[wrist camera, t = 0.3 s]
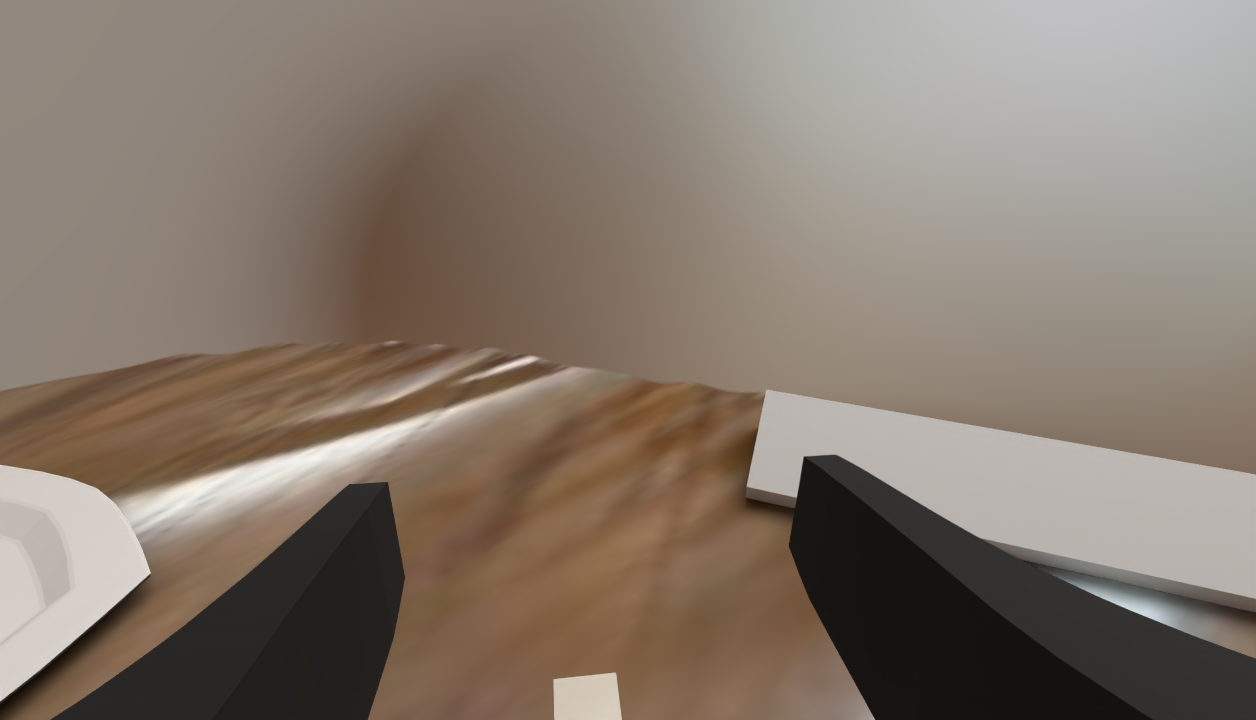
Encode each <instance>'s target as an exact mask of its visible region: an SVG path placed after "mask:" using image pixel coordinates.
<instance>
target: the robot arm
mask: <svg viewBox="0 0 1256 720" xmlns="http://www.w3.org/2000/svg"><path fill="white" fill-rule="evenodd" d="M789 548H790V550H791V553H792V556H793V558H794V561H795V564H796V566H797V569H798V572H799V575H800V577H801V579H802V582H803V584H804V587H805V589H806V592H807V594H808V597H809V599H810V601H811V603H812V605H813V606H814V608H815V610H816V612H817V614H818V616H819V618H820V620H821V621H822V623H823V625H824V627H825V629H826V631H827V633H828V634H829V636H830V638H831V640H832V642H833V644H834V645H835V647H836V649H837V651H838V653H839V655H840V656H841V658H842V660H843V662H844V664H845V666H846V667H847V669H848V671H849V673H850V675H851V676H852V678H853V680H854V682H855V684H856V686H857V687H858V689H859V691H860V693H861V695H862V696H863V698H864V700H865V702H866V704H867V706H868V707H869V709H870V711H871V713H872V715H873V717H874V718H875V720H1256V659H1255V658H1252V657H1250V656H1247V655H1244V654H1241V653H1238V652H1236V651H1233V650H1230V649H1227V648H1225V647H1222V646H1219V645H1217V644H1214V643H1211V642H1208V641H1206V640H1203V639H1200V638H1198V637H1195V636H1192V635H1190V634H1187V633H1185V632H1182V631H1180V630H1177V629H1175V628H1172V627H1170V626H1167V625H1165V624H1162V623H1160V622H1157V621H1155V620H1152V619H1150V618H1147V617H1145V616H1142V615H1140V614H1138V613H1135V612H1133V611H1130V610H1128V609H1125V608H1123V607H1121V606H1118V605H1116V604H1114V603H1111V602H1109V601H1107V600H1105V599H1102V598H1100V597H1098V596H1095V595H1093V594H1091V593H1089V592H1087V591H1085V590H1083V589H1080V588H1078V587H1076V586H1074V585H1072V584H1070V583H1068V582H1065V581H1063V580H1061V579H1059V578H1057V577H1055V576H1053V575H1050V574H1048V573H1046V572H1044V571H1042V570H1040V569H1038V568H1036V567H1034V566H1032V565H1030V564H1028V563H1026V562H1024V561H1022V560H1020V559H1018V558H1016V557H1014V556H1012V555H1011V554H1009V553H1007V552H1005V551H1003V550H1001V549H999V548H998V547H996V546H994V545H992V544H990V543H988V542H986V541H984V540H983V539H981V538H979V537H977V536H975V535H973V534H972V533H970V532H968V531H966V530H965V529H963V528H961V527H959V526H958V525H956V524H954V523H952V522H951V521H949V520H947V519H945V518H944V517H942V516H940V515H939V514H937V513H935V512H933V511H932V510H930V509H928V508H927V507H925V506H923V505H922V504H920V503H918V502H917V501H915V500H913V499H912V498H910V497H908V496H907V495H905V494H903V493H902V492H900V491H898V490H897V489H895V488H894V487H892V486H890V485H889V484H887V483H885V482H884V481H882V480H880V479H879V478H877V477H875V476H874V475H872V474H870V473H869V472H867V471H865V470H864V469H862V468H860V467H858V466H857V465H855V464H853V463H851V462H849V461H848V460H846V459H844V458H842V457H840V456H838V455H836V454H835V455H819V456H804V458H803V464H802V470H801V476H800V482H799V488H798V494H797V500H796V506H795V512H794V518H793V524H792V530H791V536H790V542H789ZM404 580H405V575H404V569H403V564H402V558H401V553H400V547H399V542H398V536H397V531H396V525H395V519H394V514H393V508H392V503H391V497H390V492H389V486H388V482H381V483H365V484H349V485H348V486H347V487H345V488H344V489H343V490H342V491H341V492H339V493H338V494H337V495H336V496H335V497H334V498H333V499H332V500H330V501H329V502H328V503H327V504H326V505H325V506H324V507H323V508H322V509H320V510H319V511H318V512H317V513H316V514H315V515H314V516H313V517H312V518H311V519H309V520H308V521H307V522H306V523H305V524H304V525H303V526H302V527H301V528H300V529H298V530H297V531H296V532H295V533H294V534H293V535H292V536H291V537H289V538H288V539H287V540H286V541H285V542H284V543H283V544H282V545H280V546H279V547H278V548H277V549H276V550H275V551H274V552H272V553H271V554H270V555H269V556H268V557H267V558H266V559H265V560H263V561H262V562H261V563H260V564H259V565H258V566H257V567H255V568H254V569H253V570H252V571H251V572H250V573H248V574H247V575H246V576H245V577H244V578H242V579H241V580H240V581H239V582H237V583H236V584H235V585H234V586H232V587H231V588H230V589H229V590H228V591H226V592H225V593H224V594H223V595H221V596H220V597H219V598H218V599H216V600H215V601H214V602H213V603H212V604H210V605H209V606H208V607H207V608H205V609H204V610H203V611H202V612H200V613H199V614H198V615H197V616H196V617H194V618H193V619H192V620H191V621H189V622H188V623H187V624H186V625H184V626H183V627H182V628H181V629H179V630H178V631H177V632H175V633H174V634H173V635H171V636H170V637H169V638H167V639H166V640H165V641H163V642H162V643H161V644H159V645H158V646H157V647H155V648H154V649H153V650H151V651H150V652H149V653H147V654H146V655H144V656H143V657H142V658H140V659H139V660H137V661H136V662H135V663H133V664H132V665H130V666H129V667H128V668H126V669H125V670H123V671H122V672H120V673H119V674H118V675H116V676H115V677H113V678H112V679H111V680H109V681H108V682H106V683H105V684H103V685H102V686H101V687H99V688H98V689H96V690H95V691H93V692H92V693H90V694H89V695H88V696H86V697H85V698H83V699H82V700H80V701H79V702H77V703H76V704H74V705H73V706H71V707H69V708H68V709H66V710H65V711H63V712H62V713H60V714H59V715H57V716H55V717H54V718H52V719H51V720H368V717H369V714H370V710H371V707H372V704H373V701H374V698H375V695H376V692H377V689H378V686H379V682H380V679H381V676H382V673H383V670H384V667H385V663H386V660H387V657H388V654H389V651H390V647H391V644H392V641H393V638H394V633H395V628H396V623H397V618H398V613H399V608H400V602H401V597H402V591H403V585H404Z"/></svg>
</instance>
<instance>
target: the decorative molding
mask: <svg viewBox="0 0 1256 720" xmlns="http://www.w3.org/2000/svg"><path fill="white" fill-rule="evenodd" d="M835 454H836V455H838V456H840V457H842V458H844V459H846V460H848V461H849V462H851V463H853V464H855V465H857V466H858V467H860V468H862V469H864V470H865V471H867V472H869V473H870V474H872V475H874V476H875V477H877V478H879V479H880V480H882V481H884V482H885V483H887V484H889V485H890V486H892V487H894V488H895V489H897V490H898V491H900V492H902V493H903V494H905V495H907V496H908V497H910V498H912V499H913V500H915V501H917V502H918V503H920V504H922V505H923V506H925V507H927V508H928V509H930V510H932V511H933V512H935V513H937V514H939V515H940V516H942V517H944V518H945V519H947V520H949V521H951V522H952V523H954V524H956V525H958V526H959V527H961V528H963V529H965V530H966V531H968V532H970V533H972V534H973V535H975V536H977V537H979V538H981V539H983V540H984V541H986V542H988V543H990V544H992V545H994V546H996V547H998V548H999V549H1001V550H1003V551H1005V552H1007V553H1009V554H1011V555H1012V556H1014V557H1016V558H1018V559H1020V560H1025V561H1029V562H1033V563H1038V564H1042V565H1047V566H1051V567H1056V568H1060V569H1064V570H1069V571H1073V572H1078V573H1082V574H1087V575H1091V576H1095V577H1100V578H1104V579H1109V580H1113V581H1118V582H1122V583H1127V584H1131V585H1135V586H1140V587H1144V588H1149V589H1153V590H1158V591H1162V592H1166V593H1171V594H1175V595H1180V596H1184V597H1189V598H1193V599H1198V600H1202V601H1206V602H1211V603H1215V604H1220V605H1224V606H1229V607H1233V608H1237V609H1242V610H1246V611H1251V612H1255V613H1256V475H1255V474H1249V473H1243V472H1238V471H1232V470H1227V469H1221V468H1215V467H1209V466H1203V465H1197V464H1192V463H1186V462H1180V461H1174V460H1169V459H1163V458H1157V457H1151V456H1145V455H1140V454H1134V453H1128V452H1122V451H1117V450H1111V449H1106V448H1099V447H1094V446H1088V445H1082V444H1076V443H1071V442H1065V441H1059V440H1054V439H1047V438H1042V437H1036V436H1031V435H1025V434H1019V433H1013V432H1008V431H1002V430H996V429H990V428H984V427H978V426H973V425H967V424H961V423H956V422H950V421H944V420H938V419H932V418H927V417H920V416H915V415H910V414H904V413H898V412H892V411H887V410H881V409H875V408H869V407H863V406H858V405H852V404H846V403H840V402H835V401H829V400H823V399H817V398H812V397H806V396H800V395H794V394H789V393H782V392H777V391H771V390H766V395H765V400H764V405H763V409H762V414H761V419H760V424H759V429H758V434H757V439H756V443H755V448H754V453H753V458H752V463H751V468H750V473H749V477H748V482H747V488H746V498H750V499H754V500H758V501H763V502H767V503H772V504H776V505H781V506H785V507H789V508H794V509H795V506H796V500H797V494H798V488H799V482H800V476H801V470H802V464H803V458H804V456H819V455H835Z"/></svg>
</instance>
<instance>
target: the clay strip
mask: <svg viewBox="0 0 1256 720" xmlns="http://www.w3.org/2000/svg"><path fill="white" fill-rule="evenodd" d="M554 720H622V719H621V710H620V702H619V694H618V686H617V678H616V673H608V674H599V675H589V676H580V677H571V678H561V679H554Z"/></svg>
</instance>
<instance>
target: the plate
mask: <svg viewBox="0 0 1256 720" xmlns="http://www.w3.org/2000/svg"><path fill="white" fill-rule="evenodd" d="M150 574H151V573H150V570H149V567H148V564H147V561H146V558H145V556H144V553H143V550H142V547H141V545H140V543H139V541H138V539H137V537H136V535H135V533H134V531H133V529H132V527H131V525H130V523H129V522H128V520H127V519H126V518H125V516H124V515H123V514H122V512H121V511H120V510H119V508H118V507H117V506H116V504H115V503H114V502H113V501H111V500H110V499H109V498H108V497H107V496H106V495H104V494H103V493H102V492H101V491H100V490H98V489H97V488H94V487H92V486H89V485H86V484H84V483H81V482H79V481H76V480H73V479H70V478H66V477H62V476H57V475H53V474H49V473H45V472H40V471H34V470H28V469H22V468H16V467H10V466H3V465H0V704H1V703H3V702H4V701H5V700H6V699H8V698H9V697H10V696H11V695H13V694H14V693H15V692H16V691H18V690H19V689H20V688H22V687H23V686H24V685H25V684H27V683H28V682H29V681H30V680H32V679H33V678H34V677H35V676H37V675H38V674H39V673H40V672H42V671H43V670H44V669H45V668H46V667H47V666H49V665H50V664H51V663H52V662H53V661H54V660H56V659H57V658H58V657H59V656H60V655H61V654H62V653H64V652H65V651H66V650H67V649H68V648H69V647H71V646H72V645H73V644H74V643H75V642H76V641H78V640H79V639H80V638H81V637H82V636H83V635H84V634H86V633H87V632H88V631H89V630H90V629H91V628H93V627H94V626H95V625H96V624H97V623H98V622H99V621H101V620H102V619H103V618H104V617H105V616H106V615H107V614H109V613H110V612H111V611H112V610H113V609H114V608H115V607H116V606H118V605H119V604H120V603H121V602H122V601H123V600H124V599H125V598H126V597H128V596H129V595H130V594H131V593H132V592H133V591H134V590H135V589H137V588H138V587H139V586H140V585H141V584H142V583H143V582H144V581H146V580H147V579H148V578H149V577H150Z"/></svg>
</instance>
